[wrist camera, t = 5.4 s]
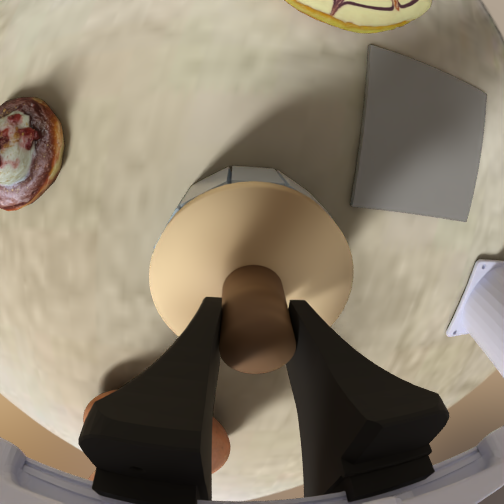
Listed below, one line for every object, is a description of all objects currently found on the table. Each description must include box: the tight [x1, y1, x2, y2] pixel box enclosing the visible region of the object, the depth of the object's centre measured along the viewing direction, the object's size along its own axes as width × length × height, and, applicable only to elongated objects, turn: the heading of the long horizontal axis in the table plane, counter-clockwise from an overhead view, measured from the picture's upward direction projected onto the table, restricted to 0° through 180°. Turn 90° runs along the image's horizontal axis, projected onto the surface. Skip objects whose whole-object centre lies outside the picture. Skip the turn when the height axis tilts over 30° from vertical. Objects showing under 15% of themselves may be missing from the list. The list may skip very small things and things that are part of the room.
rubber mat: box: [350, 45, 487, 222], centre depth 15 cm, size 10×10×1 cm
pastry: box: [0, 97, 65, 211], centre depth 12 cm, size 8×8×5 cm
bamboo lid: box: [149, 181, 353, 374], centre depth 12 cm, size 9×9×4 cm
